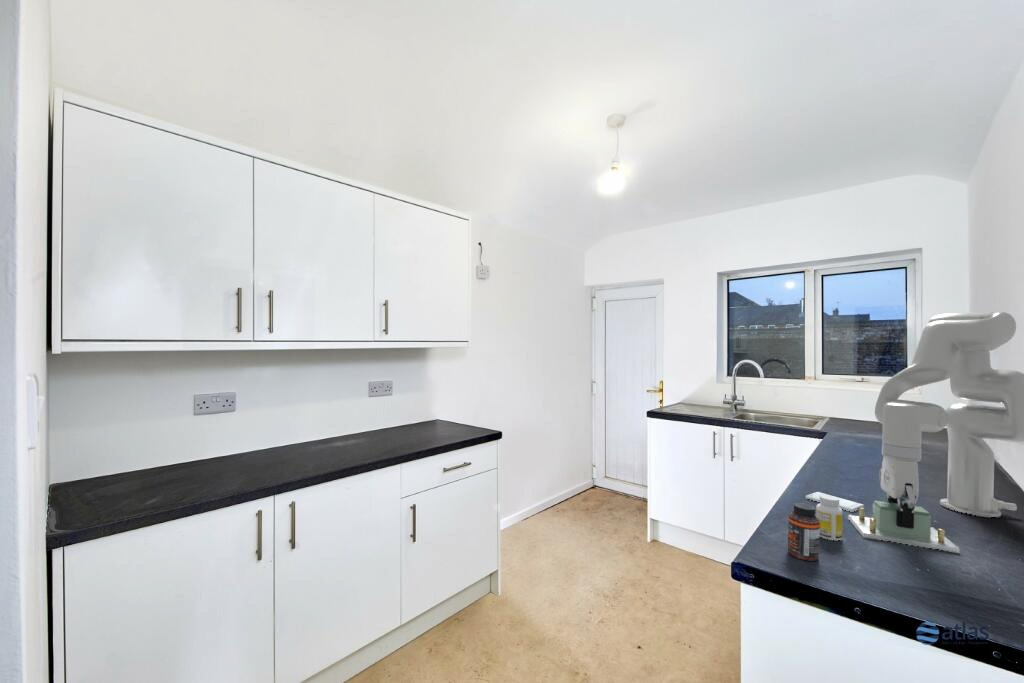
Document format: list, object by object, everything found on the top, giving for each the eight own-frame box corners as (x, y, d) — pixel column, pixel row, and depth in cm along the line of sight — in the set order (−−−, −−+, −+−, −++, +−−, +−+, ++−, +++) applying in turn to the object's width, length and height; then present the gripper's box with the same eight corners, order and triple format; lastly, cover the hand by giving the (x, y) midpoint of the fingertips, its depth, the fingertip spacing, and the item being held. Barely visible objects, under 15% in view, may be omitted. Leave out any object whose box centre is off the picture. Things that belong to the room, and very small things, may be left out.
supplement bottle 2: (837, 534, 111) (838, 495, 111) (845, 543, 106) (846, 502, 106) (812, 530, 113) (813, 492, 113) (819, 539, 108) (820, 499, 108)
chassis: (932, 531, 114) (933, 515, 114) (959, 553, 102) (959, 535, 102) (848, 518, 121) (848, 503, 121) (863, 537, 109) (864, 520, 109)
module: (921, 530, 112) (921, 506, 112) (930, 537, 107) (930, 513, 107) (872, 522, 116) (872, 500, 116) (879, 529, 111) (879, 506, 111)
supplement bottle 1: (781, 549, 102) (782, 500, 102) (805, 549, 102) (806, 500, 102) (800, 562, 96) (801, 510, 96) (825, 562, 96) (827, 510, 96)
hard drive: (805, 495, 137) (852, 508, 126) (817, 491, 141) (864, 503, 130) (805, 500, 137) (852, 514, 126) (817, 496, 141) (864, 509, 130)
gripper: (871, 443, 121) (869, 508, 121) (895, 457, 105) (894, 532, 105) (905, 446, 118) (904, 513, 118) (936, 461, 102) (934, 539, 102)
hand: (899, 521), depth 111 cm, fingers open, 6 cm apart
